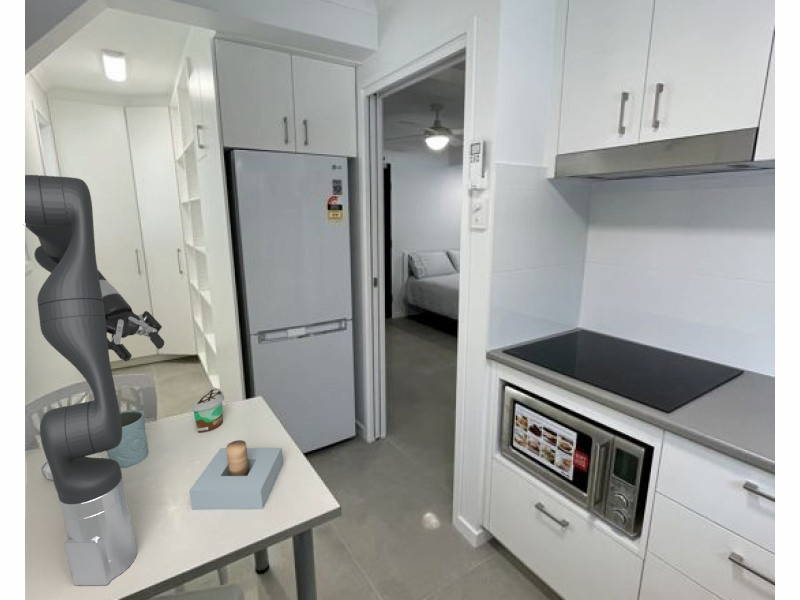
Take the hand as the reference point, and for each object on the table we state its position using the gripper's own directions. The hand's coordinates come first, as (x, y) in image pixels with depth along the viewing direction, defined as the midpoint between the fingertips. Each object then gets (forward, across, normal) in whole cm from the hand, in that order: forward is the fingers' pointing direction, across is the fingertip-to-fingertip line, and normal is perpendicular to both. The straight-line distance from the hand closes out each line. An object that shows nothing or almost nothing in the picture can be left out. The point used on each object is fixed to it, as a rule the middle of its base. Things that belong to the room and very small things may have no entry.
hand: (146, 352), depth 96 cm
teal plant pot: (+13, +1, +33) cm, 36 cm away
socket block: (+39, +2, +7) cm, 40 cm away
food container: (+20, +22, +27) cm, 40 cm away
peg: (+39, +2, +7) cm, 40 cm away
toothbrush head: (+13, -12, +34) cm, 39 cm away
